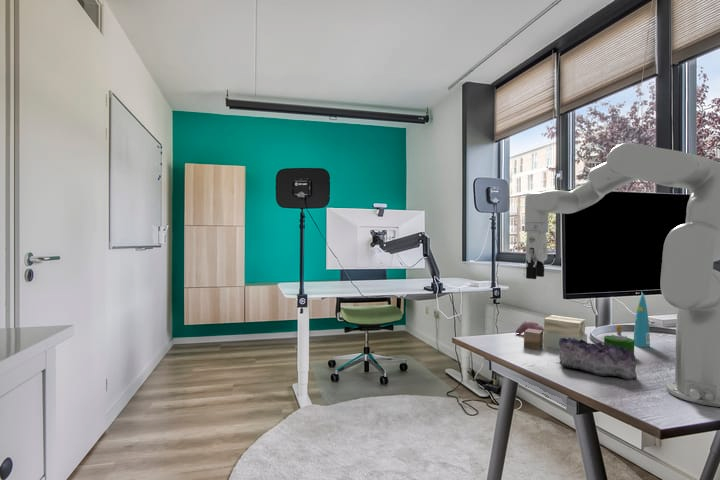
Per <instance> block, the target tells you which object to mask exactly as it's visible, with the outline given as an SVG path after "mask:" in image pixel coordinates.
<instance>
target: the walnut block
mask: <svg viewBox="0 0 720 480" xmlns="http://www.w3.org/2000/svg"><path fill="white" fill-rule="evenodd" d="M543 334H544V333H543V331H542V330H535V329H529V328H528V329H527V330H525V331H524V332H523V349H527V350H532V351H539V352H541V351H542V349H544V346H543Z"/></svg>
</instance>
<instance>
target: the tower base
mask: <svg viewBox="0 0 720 480" xmlns="http://www.w3.org/2000/svg"><path fill="white" fill-rule="evenodd" d="M560 338H566V339H568V338H571V339H572V338H574V337H568V336H562V335H556V334H550V333H543V347H547V348H548V347H549V348H553V349H559V350H561V349H560V347H559V345H558V344H559V339H560ZM575 339H576V340H578V341H580V340H581V339H582V340H583V341H585V342H587V343H588V333H586V332H585V334H584V335H582V336H581V337H580V338H575Z"/></svg>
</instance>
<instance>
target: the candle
mask: <svg viewBox="0 0 720 480" xmlns="http://www.w3.org/2000/svg"><path fill="white" fill-rule="evenodd" d="M616 331H617V332H616V333H615V332H613V333H611V335H605V336H603V340H604V341H603V343H605V342H606V343H608V344H611V345H612V346H614V347H616V346H619V347H623V348H624V349H626V348H629V349H630V351H633V352H634V353H635V345H634V338H630V337H628V335H627V334H624V333H622V331H623V327H622V325H620V324H619V325H617V327H616Z"/></svg>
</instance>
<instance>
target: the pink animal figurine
mask: <svg viewBox="0 0 720 480" xmlns="http://www.w3.org/2000/svg"><path fill="white" fill-rule="evenodd" d="M528 328H529V329H535V330H542V331H543V334H544V326H543V327H542V325H540V324H539V323H536V322H533V321H524V322H522V323H521V324H520V326H519V327H518V328H516V330H515V335H516V336H520V335H522V334H524V331H525V330H527V329H528ZM516 333H519V334H516Z"/></svg>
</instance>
